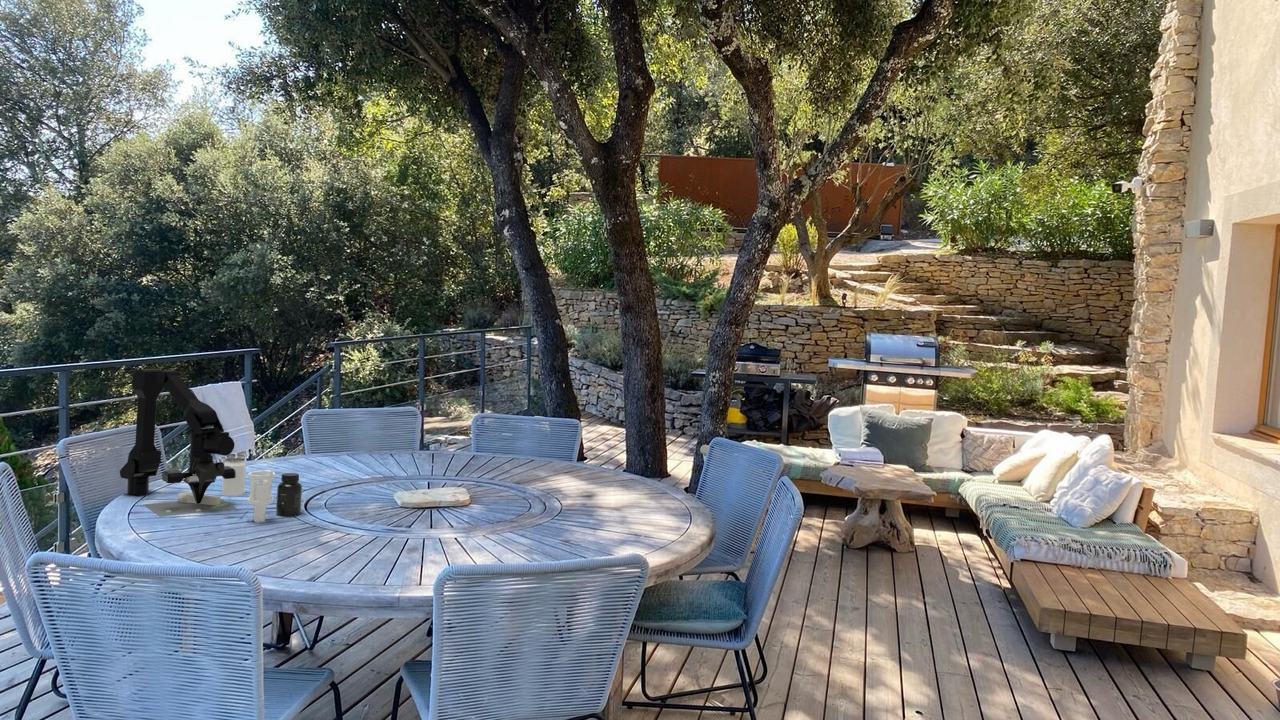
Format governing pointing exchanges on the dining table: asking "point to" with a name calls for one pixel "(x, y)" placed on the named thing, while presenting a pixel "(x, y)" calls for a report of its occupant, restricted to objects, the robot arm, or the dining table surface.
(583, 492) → the dining table surface
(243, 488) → the can
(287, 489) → the supplement bottle
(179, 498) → the beige wooden bar
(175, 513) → the dial board
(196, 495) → the robot arm
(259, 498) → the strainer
